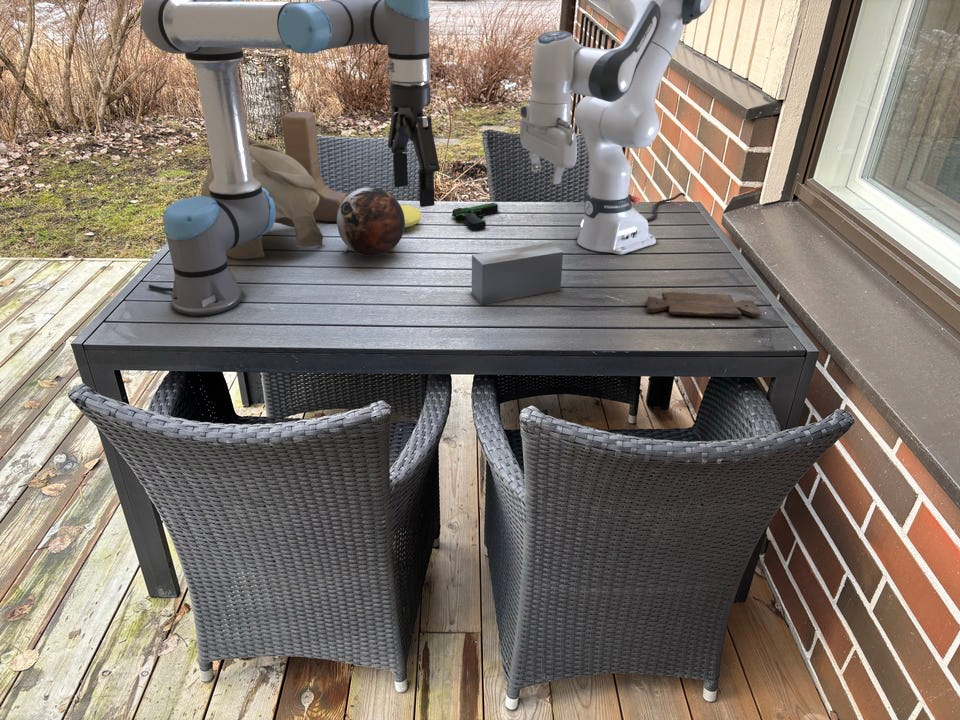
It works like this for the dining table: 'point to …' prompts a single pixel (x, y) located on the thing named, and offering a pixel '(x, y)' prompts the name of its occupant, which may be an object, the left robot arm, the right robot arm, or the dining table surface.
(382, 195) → the marbled brown ball
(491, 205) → the handgun
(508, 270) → the box
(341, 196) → the decorative block
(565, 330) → the dining table surface
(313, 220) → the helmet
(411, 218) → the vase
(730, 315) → the dark wooden board
